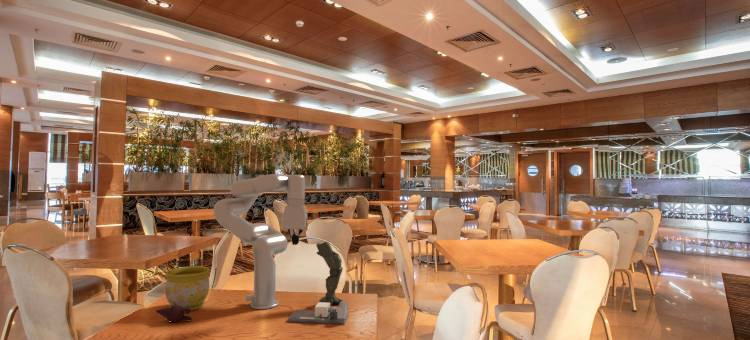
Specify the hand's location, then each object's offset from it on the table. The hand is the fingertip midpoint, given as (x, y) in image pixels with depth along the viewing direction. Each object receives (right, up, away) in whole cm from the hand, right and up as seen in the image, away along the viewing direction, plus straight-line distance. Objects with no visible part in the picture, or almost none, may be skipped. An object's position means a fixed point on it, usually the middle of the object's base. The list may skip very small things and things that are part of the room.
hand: (295, 244), depth 170 cm
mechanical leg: (+14, -30, +10) cm, 34 cm away
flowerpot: (-49, -29, +3) cm, 57 cm away
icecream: (-46, -29, -14) cm, 56 cm away
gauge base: (+12, -29, -10) cm, 33 cm away
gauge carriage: (+15, -27, -11) cm, 33 cm away
